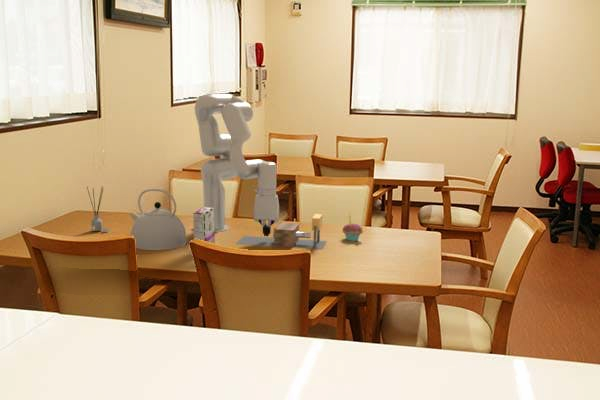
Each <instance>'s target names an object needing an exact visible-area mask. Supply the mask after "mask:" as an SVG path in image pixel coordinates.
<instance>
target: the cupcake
mask: <svg viewBox="0 0 600 400" xmlns="http://www.w3.org/2000/svg"><path fill="white" fill-rule="evenodd" d="M348 220H349V221H348V224H346V225H344V226H343V227H342V233H344V236H345V239H346V240H347V241H353V242H355V241H356V242H358V241H359V238H360V236H361V234H363V232H364V230H363V227H361V226H360V225H359V224H356V223H352V220H351V214H348Z"/></svg>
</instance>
